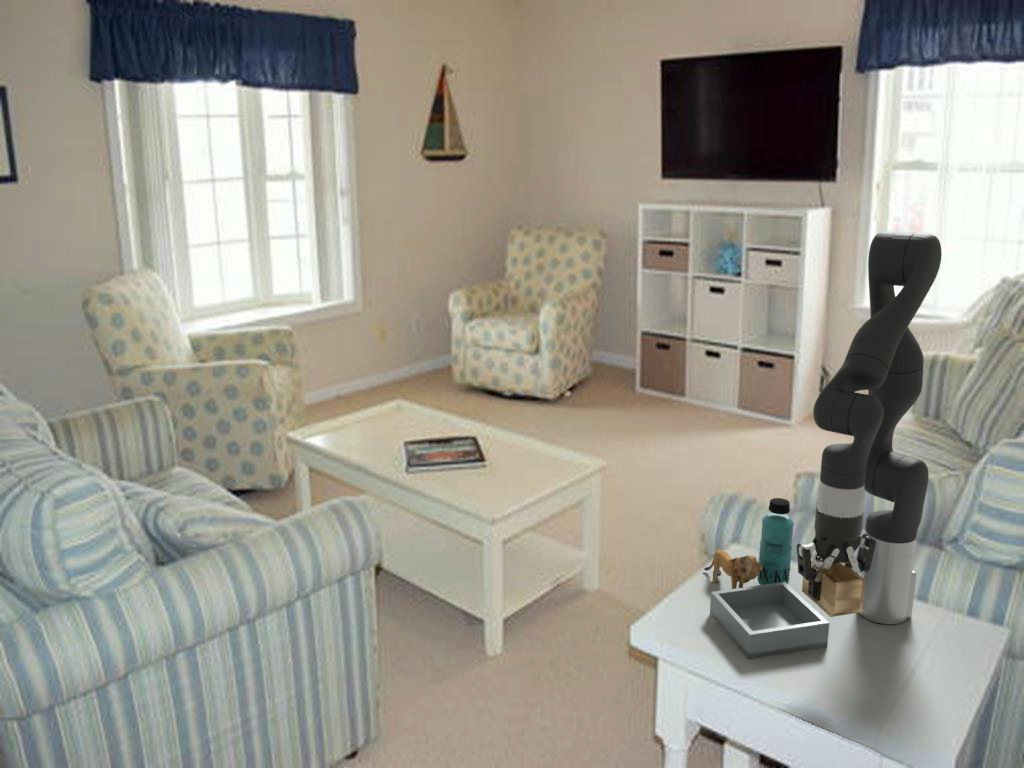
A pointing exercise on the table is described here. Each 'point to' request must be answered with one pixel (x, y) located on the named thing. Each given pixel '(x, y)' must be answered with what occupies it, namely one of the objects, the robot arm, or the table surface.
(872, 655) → the table surface
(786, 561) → the beverage bottle
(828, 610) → the small oak crate
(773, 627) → the grey square tray
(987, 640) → the table surface
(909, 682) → the table surface
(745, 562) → the lion figurine
